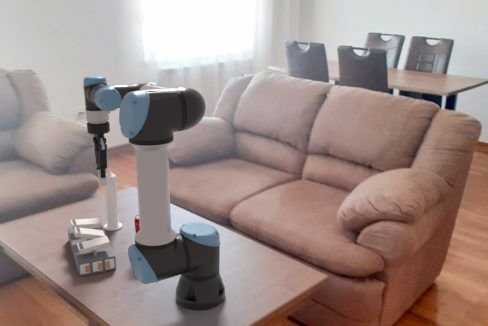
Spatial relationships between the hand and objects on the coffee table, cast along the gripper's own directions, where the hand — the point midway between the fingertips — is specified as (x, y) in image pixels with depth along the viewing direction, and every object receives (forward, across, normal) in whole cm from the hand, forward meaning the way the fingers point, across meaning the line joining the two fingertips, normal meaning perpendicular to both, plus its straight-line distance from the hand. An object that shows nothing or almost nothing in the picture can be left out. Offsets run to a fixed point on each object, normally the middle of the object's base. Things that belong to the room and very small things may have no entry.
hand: (103, 185), depth 178 cm
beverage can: (+23, -15, -10) cm, 29 cm away
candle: (+23, +12, -5) cm, 26 cm away
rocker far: (+15, +2, +7) cm, 16 cm away
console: (+23, -7, +7) cm, 25 cm away
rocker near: (+15, -16, +7) cm, 23 cm away
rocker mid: (+15, -7, +7) cm, 18 cm away
